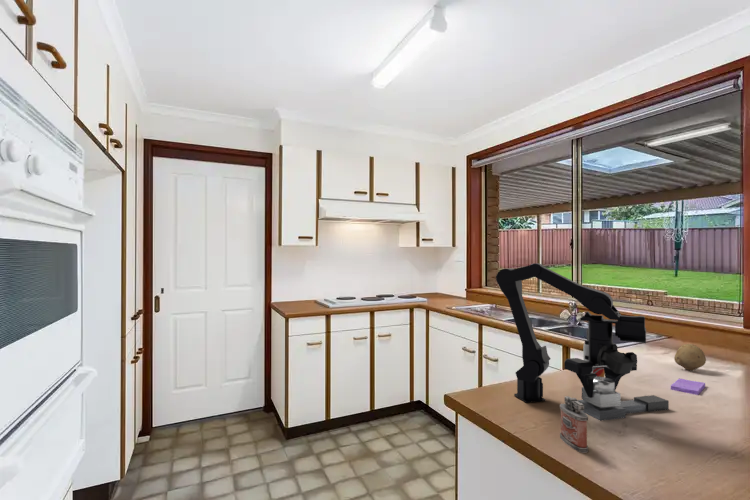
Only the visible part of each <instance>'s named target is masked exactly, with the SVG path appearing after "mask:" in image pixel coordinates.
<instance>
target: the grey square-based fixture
mask: <svg viewBox="0 0 750 500" xmlns="http://www.w3.org/2000/svg"><path fill="white" fill-rule="evenodd" d="M581 400H585V401H587V402H589V403H592V404H594V405H596V406H598V407H600V408H601V407H611V406H621V401H622V400H621V393H620V392H618V391H616V390H615V382H614V381H613V380H612V379H609V378H605V377H599V376H596V377H595V378H594V379H593V396H592V398H590V397H588V395H587V393H586V391H585V389H584V387H583V386H581Z"/></svg>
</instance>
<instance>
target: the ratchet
mask: <svg viewBox="0 0 750 500" xmlns="http://www.w3.org/2000/svg"><path fill="white" fill-rule="evenodd" d="M577 401H578V402H580V403H582V404H583V405H584V411H583V412H584V413H585V414H586V415H587V416H590V417H592V418H594V419H596V420H597V421H599V420H600V421H599V422H602V420H603V421H611V420H619V419H626V415H628V414H636V413H637V414H638V413H639V414H640V413H653V412H654V413H655V412H664V411H670V410H669V409H670V408H669V405H670V404H669V400H668V399H665V398H662V397H660V396H658V395H654V394H653V395H652V394H651V395H643V396H642V395H641V396H634V397H633V399H630V400H629V399H628V400H621V406H611V407H601V408H600V407H598V406H596V405H594V404H592V403H589V402H587V401H585V400H583V399H577Z"/></svg>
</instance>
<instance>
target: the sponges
mask: <svg viewBox="0 0 750 500" xmlns="http://www.w3.org/2000/svg"><path fill="white" fill-rule="evenodd" d="M705 387H706V382H703V381H702V382H701V381H696V380H695V381H694V380H690V379H689V380H688V379H684V378H678V379H677V380H675V381H674V382H673V383H671V384H670V391H676V392H680V393H687V394H691V395H696V396H699V395H700V393H702V391H703V390H704V388H705ZM705 389H706V388H705Z"/></svg>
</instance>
